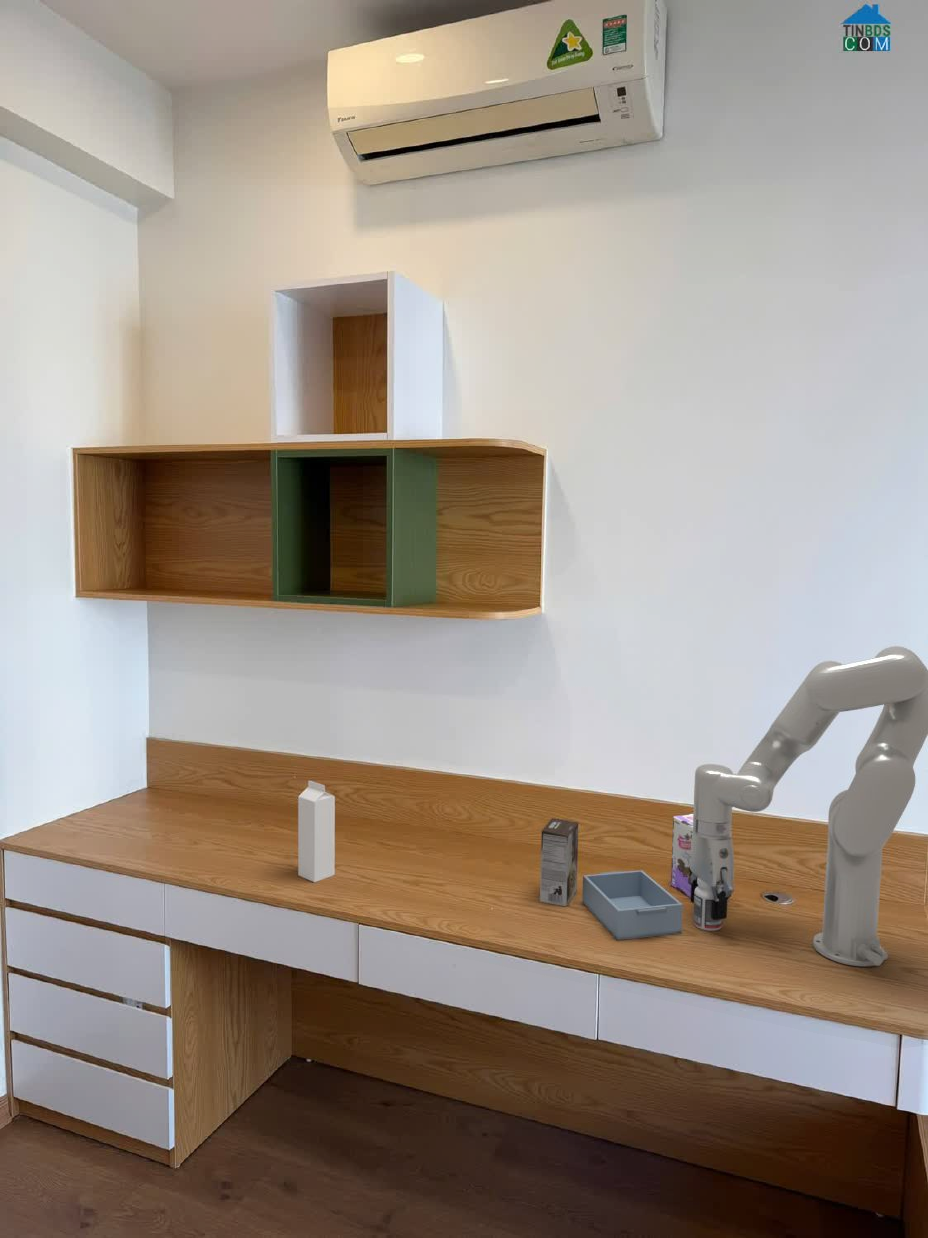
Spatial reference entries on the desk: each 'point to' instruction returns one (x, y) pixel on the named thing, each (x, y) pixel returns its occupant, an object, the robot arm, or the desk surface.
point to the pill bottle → (705, 907)
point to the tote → (631, 904)
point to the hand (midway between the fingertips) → (708, 909)
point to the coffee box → (559, 862)
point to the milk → (316, 833)
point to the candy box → (682, 853)
